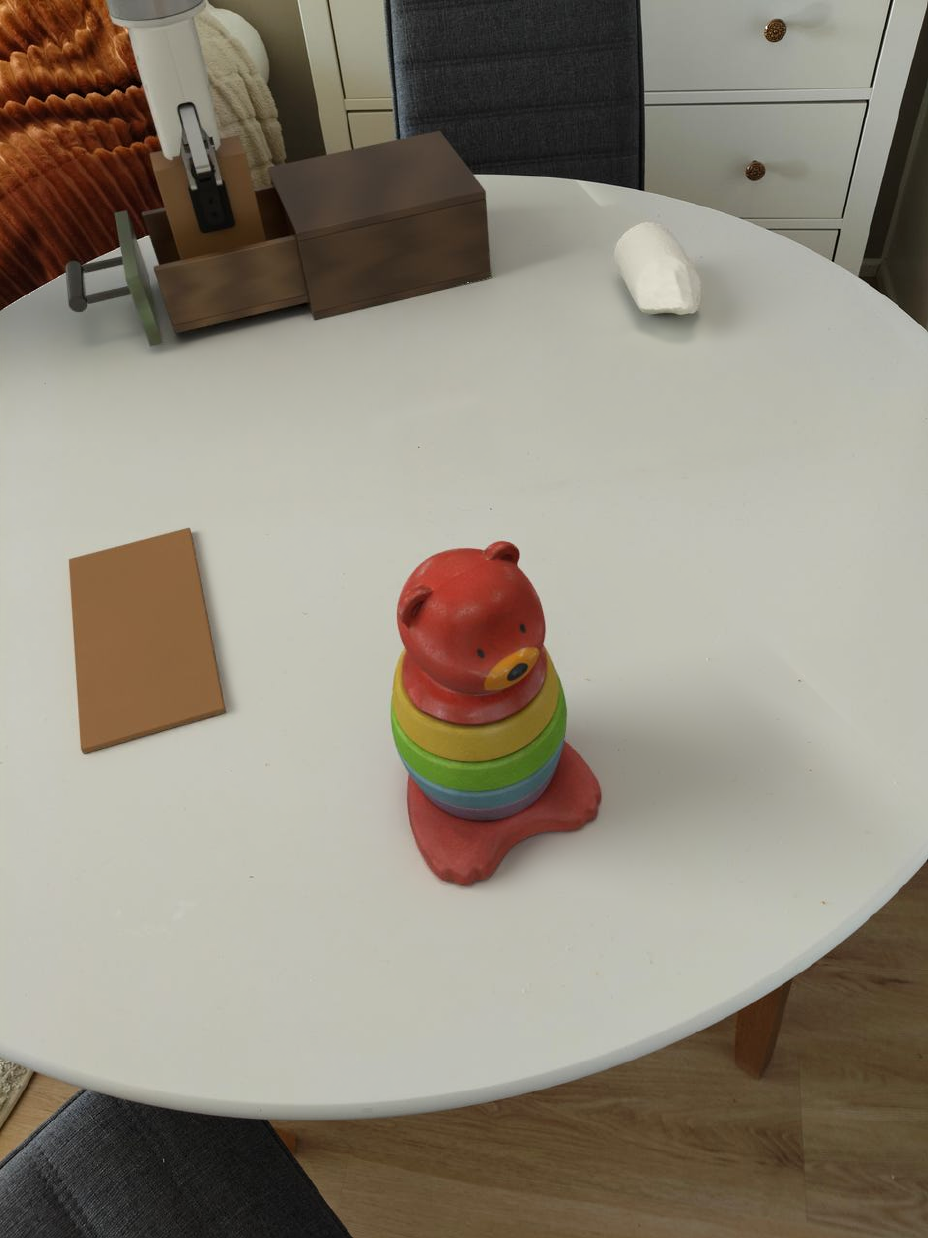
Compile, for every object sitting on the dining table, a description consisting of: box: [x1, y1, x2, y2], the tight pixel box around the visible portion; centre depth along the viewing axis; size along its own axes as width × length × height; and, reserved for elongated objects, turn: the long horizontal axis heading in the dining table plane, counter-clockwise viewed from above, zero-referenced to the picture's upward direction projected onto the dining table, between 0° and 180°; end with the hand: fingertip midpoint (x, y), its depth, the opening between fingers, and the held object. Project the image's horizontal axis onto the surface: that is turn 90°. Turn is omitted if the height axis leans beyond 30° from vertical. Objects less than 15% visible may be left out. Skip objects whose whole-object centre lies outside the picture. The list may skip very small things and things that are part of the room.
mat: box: [68, 527, 227, 755], centre depth 68 cm, size 18×9×1 cm, turn 18°
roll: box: [613, 221, 703, 316], centre depth 88 cm, size 6×12×6 cm, turn 8°
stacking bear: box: [390, 540, 603, 886], centre depth 51 cm, size 11×10×18 cm
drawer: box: [64, 183, 310, 347], centre depth 93 cm, size 22×13×7 cm, turn 108°
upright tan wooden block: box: [149, 134, 266, 260], centre depth 91 cm, size 8×4×12 cm, turn 108°
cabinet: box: [267, 130, 492, 321], centre depth 96 cm, size 18×15×9 cm
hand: (214, 215), depth 91 cm, fingers closed on upright tan wooden block, 4 cm apart
